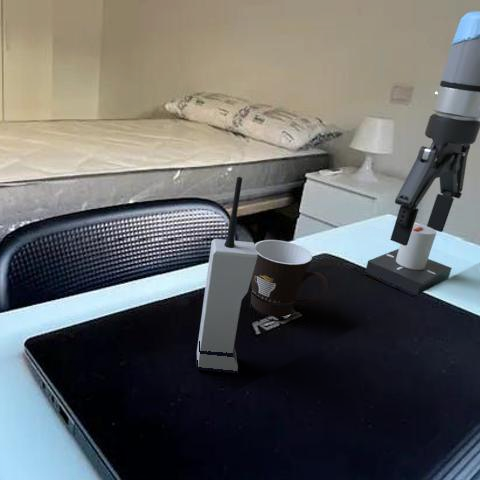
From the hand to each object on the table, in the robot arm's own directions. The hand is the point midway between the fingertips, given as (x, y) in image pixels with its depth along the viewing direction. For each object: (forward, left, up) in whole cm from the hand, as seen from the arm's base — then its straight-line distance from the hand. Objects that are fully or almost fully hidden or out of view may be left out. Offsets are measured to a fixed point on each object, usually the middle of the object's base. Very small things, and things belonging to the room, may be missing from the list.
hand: (417, 235), depth 90 cm
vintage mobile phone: (0, +49, -9) cm, 50 cm away
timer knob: (0, 0, -6) cm, 6 cm away
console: (0, 0, -9) cm, 9 cm away
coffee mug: (+4, +32, -9) cm, 33 cm away
